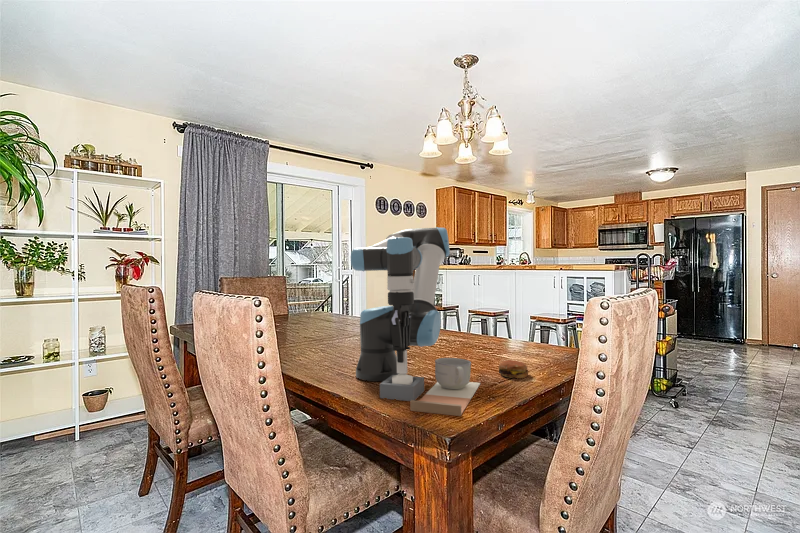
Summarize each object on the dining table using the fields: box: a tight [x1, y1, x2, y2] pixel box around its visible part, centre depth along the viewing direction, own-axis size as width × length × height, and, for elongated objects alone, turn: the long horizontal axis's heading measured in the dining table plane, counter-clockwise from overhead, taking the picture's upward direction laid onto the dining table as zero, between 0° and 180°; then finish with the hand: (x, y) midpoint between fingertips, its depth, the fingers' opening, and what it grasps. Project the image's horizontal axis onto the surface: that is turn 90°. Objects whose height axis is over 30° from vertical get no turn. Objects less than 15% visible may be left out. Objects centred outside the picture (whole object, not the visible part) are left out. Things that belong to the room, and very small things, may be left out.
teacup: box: [434, 357, 472, 389], centre depth 124 cm, size 14×11×8 cm
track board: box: [409, 381, 481, 417], centre depth 118 cm, size 13×29×2 cm, turn 160°
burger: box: [498, 359, 529, 380], centre depth 138 cm, size 10×9×5 cm
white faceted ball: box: [392, 373, 414, 385], centre depth 120 cm, size 6×6×6 cm
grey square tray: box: [379, 375, 425, 402], centre depth 120 cm, size 10×10×4 cm
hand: (402, 372), depth 120 cm, fingers closed
